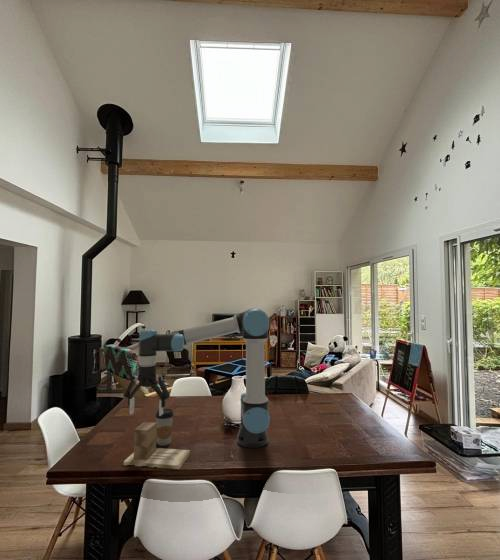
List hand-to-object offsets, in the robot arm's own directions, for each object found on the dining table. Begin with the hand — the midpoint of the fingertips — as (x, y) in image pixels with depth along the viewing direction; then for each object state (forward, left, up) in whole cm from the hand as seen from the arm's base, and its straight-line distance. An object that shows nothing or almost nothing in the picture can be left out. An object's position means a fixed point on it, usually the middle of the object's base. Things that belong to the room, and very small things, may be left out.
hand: (146, 414), depth 142 cm
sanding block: (0, 0, -17) cm, 17 cm away
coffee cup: (-2, -16, -19) cm, 25 cm away
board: (-6, 0, -19) cm, 19 cm away
